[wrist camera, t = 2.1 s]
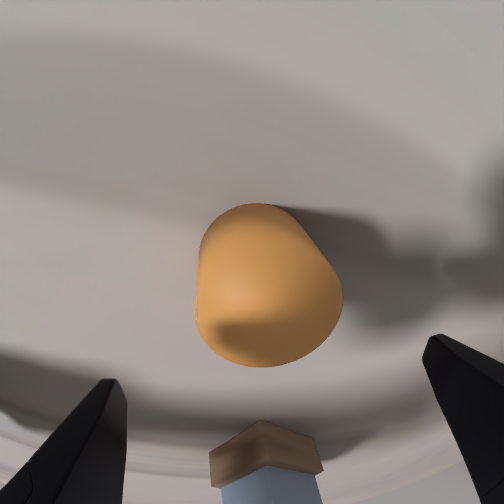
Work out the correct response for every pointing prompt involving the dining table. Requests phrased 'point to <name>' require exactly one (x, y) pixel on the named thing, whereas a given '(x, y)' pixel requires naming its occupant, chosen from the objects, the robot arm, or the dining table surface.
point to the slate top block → (273, 488)
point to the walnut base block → (262, 453)
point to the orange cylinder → (264, 288)
